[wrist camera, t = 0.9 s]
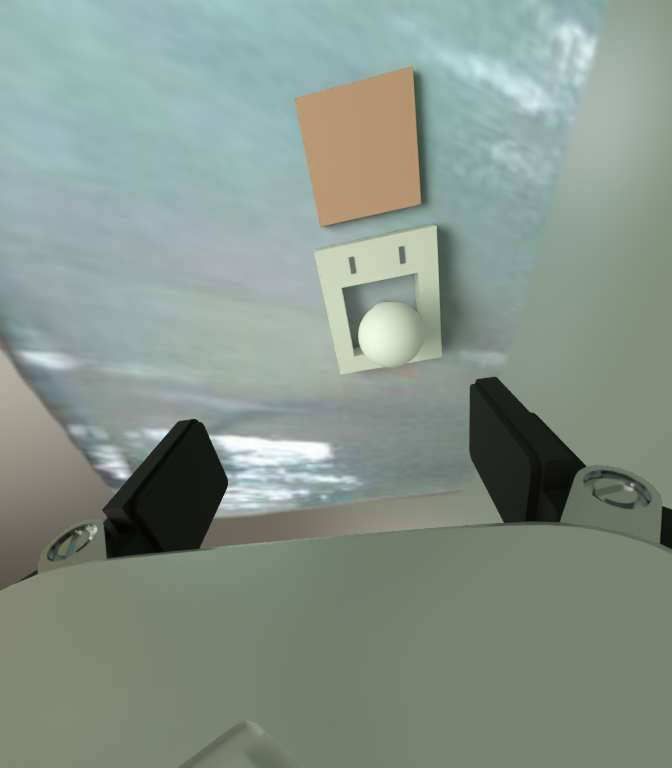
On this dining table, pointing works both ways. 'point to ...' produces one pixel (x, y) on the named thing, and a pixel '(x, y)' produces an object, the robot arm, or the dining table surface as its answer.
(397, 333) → the lightbulb
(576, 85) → the dining table surface
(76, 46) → the dining table surface
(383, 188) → the tile
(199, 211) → the dining table surface
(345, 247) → the slotted square frame
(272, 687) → the robot arm
